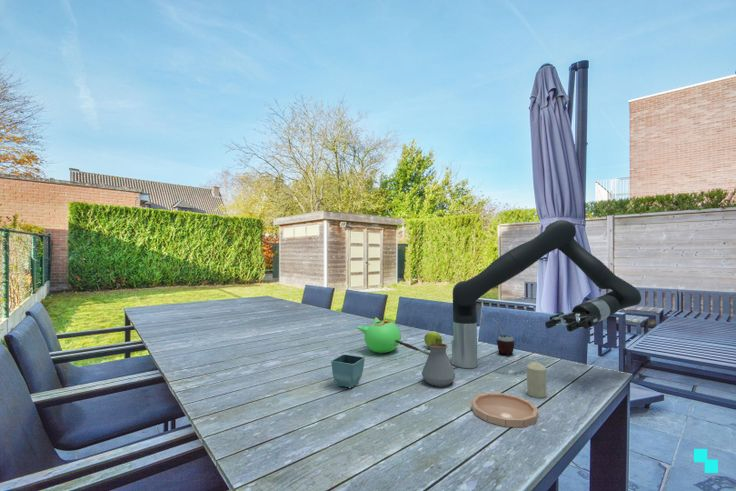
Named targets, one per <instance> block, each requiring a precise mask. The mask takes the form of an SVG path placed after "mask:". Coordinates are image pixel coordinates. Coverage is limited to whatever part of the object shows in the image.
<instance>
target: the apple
mask: <svg viewBox="0 0 736 491" xmlns="http://www.w3.org/2000/svg"><path fill="white" fill-rule="evenodd" d="M423 339H424V340H423V341H424V342H425V343H424V344H426V346H427V347H429V344H431V343H443V338H442V336H441V334H440V333H439V332H438V331H435V330H433V331H429V332H426V333H425V335H424V338H423ZM429 348H430V347H429Z"/></svg>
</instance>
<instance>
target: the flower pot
mask: <svg viewBox="0 0 736 491" xmlns="http://www.w3.org/2000/svg"><path fill="white" fill-rule="evenodd" d="M330 363H331V370H332V377H333V378H334V379H333V380H334V381H335V383H336V385H337V386H338V385H339V386H338V387H341V386H345V387H344V388H346V387H352V388H354V387H355V386H356V385H357V384H358V383H359V381H360V380H361V378H362V375H363V371H364V368H365V366H364V365H365V356H358V355H352V354H345V353H344V354H341V355H339V356H338V357H336V358H334V359H332V360H331V361H330ZM354 385H355V386H354ZM353 386H354V387H353Z"/></svg>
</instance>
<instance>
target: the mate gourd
mask: <svg viewBox="0 0 736 491" xmlns="http://www.w3.org/2000/svg"><path fill="white" fill-rule="evenodd" d="M492 320H493V322H494V323H496V325H497V327H498V329H499V332H500V335H499V336H498V337H497V341H496V343H497V344H496V345H497V350H498V355H499V356H506V357H508V358H510V356H513V355H514V353H513V352H514V348H515V340H514V337H513V336H512V335H509V334H503V331H502V329H501V326H500V324H499V323H498V321H496V319H494V318H492Z"/></svg>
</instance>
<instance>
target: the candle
mask: <svg viewBox="0 0 736 491" xmlns="http://www.w3.org/2000/svg"><path fill="white" fill-rule="evenodd" d="M526 392H527V395H529V396H530V397H533V398H536V399H537V398H538V399H542V398H546V397H547V368H546V366H544V365H543V364H541V363H540V362H539V361H531V362H529V363H528V364H527V365H526Z"/></svg>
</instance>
